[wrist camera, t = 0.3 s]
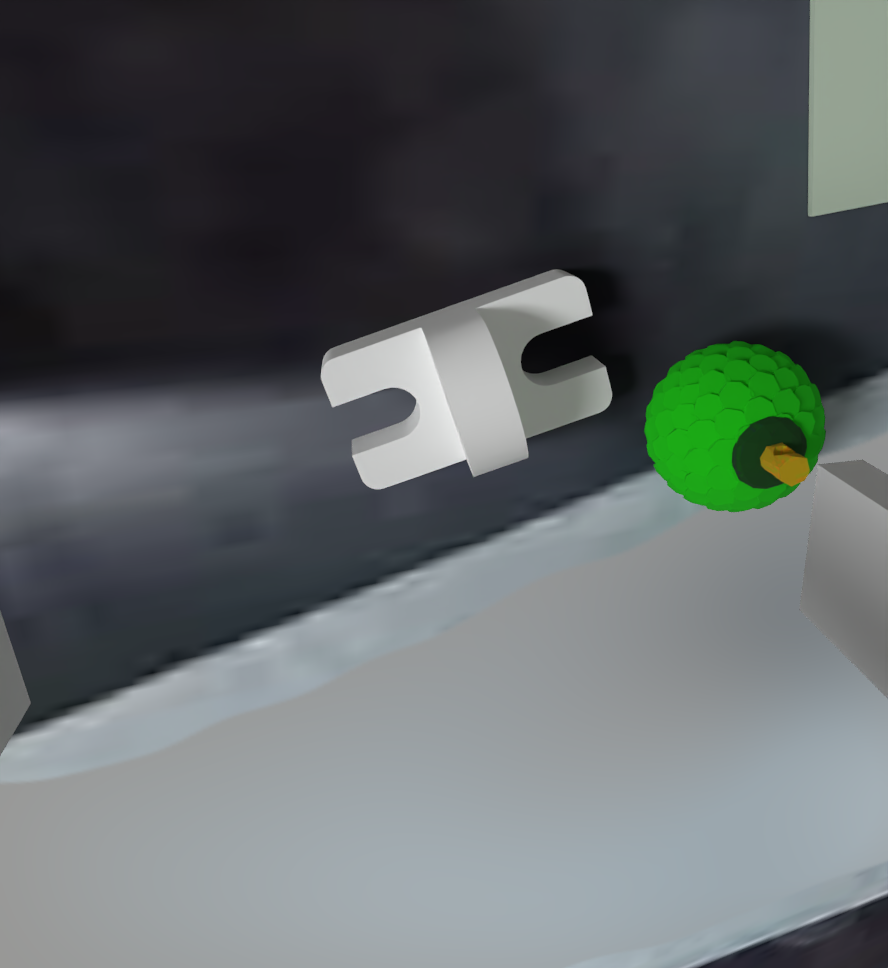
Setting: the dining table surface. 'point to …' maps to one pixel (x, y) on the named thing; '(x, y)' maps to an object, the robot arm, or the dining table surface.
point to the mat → (848, 105)
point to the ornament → (735, 426)
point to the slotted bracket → (468, 381)
